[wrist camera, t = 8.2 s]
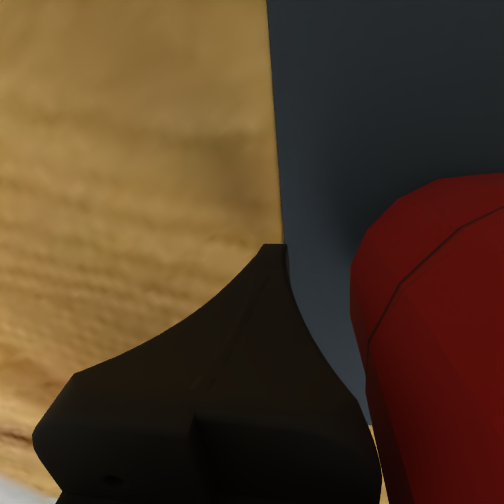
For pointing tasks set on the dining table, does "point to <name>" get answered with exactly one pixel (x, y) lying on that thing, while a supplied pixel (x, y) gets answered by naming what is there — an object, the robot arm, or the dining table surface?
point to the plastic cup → (435, 340)
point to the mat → (374, 132)
